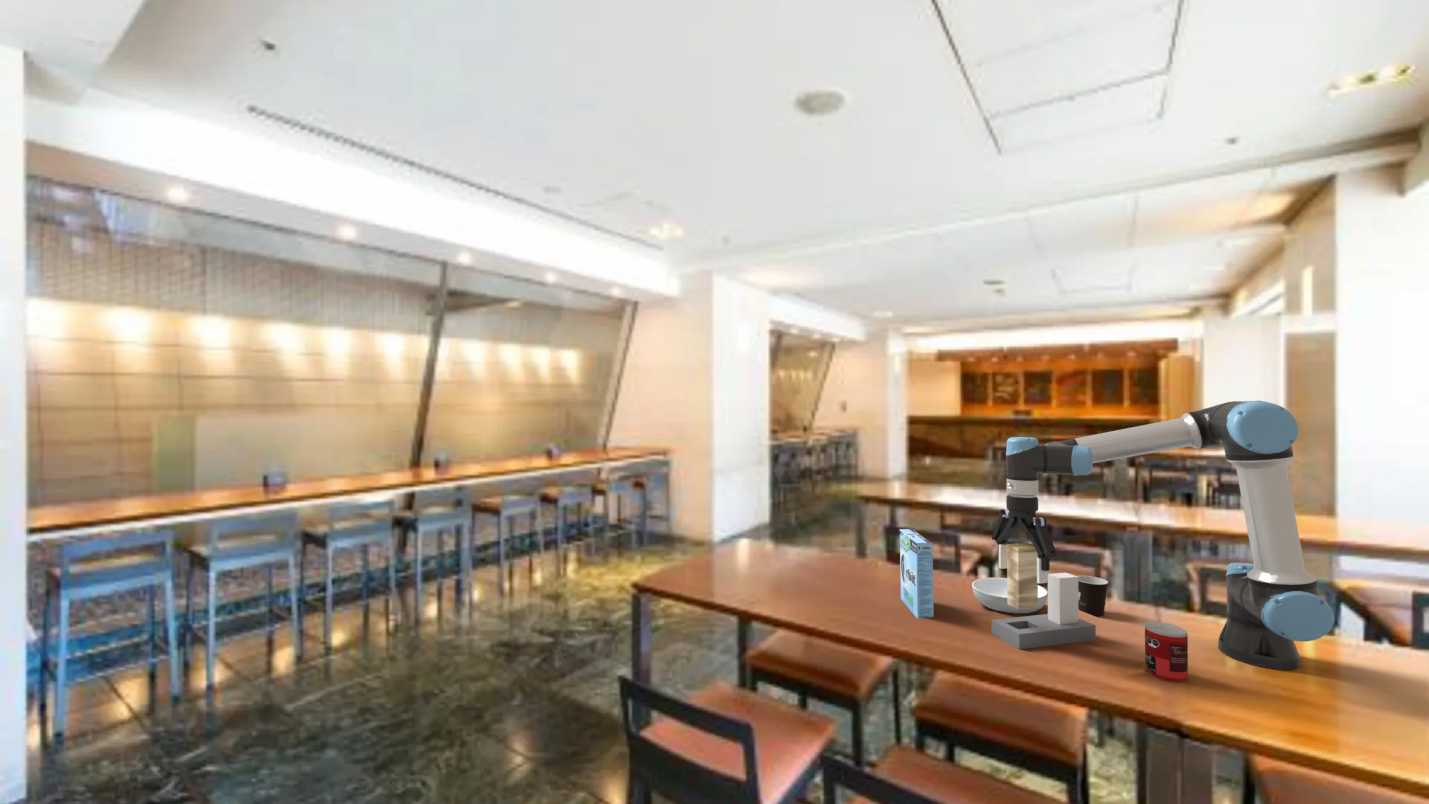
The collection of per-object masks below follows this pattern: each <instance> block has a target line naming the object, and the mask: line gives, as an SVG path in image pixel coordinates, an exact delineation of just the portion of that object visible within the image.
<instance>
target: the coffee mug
mask: <svg viewBox="0 0 1429 804" xmlns="http://www.w3.org/2000/svg"><path fill="white" fill-rule="evenodd" d="M1076 576H1077V577H1078V611H1081V612H1083V613H1085V614H1088V615H1090V616H1092V617H1096V618H1097V617H1098V618H1100V617H1104V615H1105V609H1106V601H1107V594H1108V587H1109V581H1108V580H1106V579H1105V578H1101V577H1097V576H1089V575H1076Z"/></svg>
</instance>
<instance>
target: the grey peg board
mask: <svg viewBox="0 0 1429 804" xmlns="http://www.w3.org/2000/svg"><path fill="white" fill-rule="evenodd" d="M1096 629H1097V626H1096V624H1094V623H1091V622H1088V621H1087V620H1084V619H1082V618H1079V617H1078V623H1071V624H1062V625H1059V624H1057V623H1055V622H1053V621H1051V620H1048V613H1046V614H1036V615H1027V616H1026V615H1025V616H1018V617H1017V616H1015V617H1007V618H997V619H991V635H992V636H993V637H994V636H995V637H996V638H998V639H1000V640H1001V641H1003V642H1005V643H1007V644H1008V645H1011V646H1012V647H1015V648H1016V649H1018V650H1024V649H1026V650H1027V649H1031V648H1032V649H1033V648H1041V647H1048V646H1049V647H1050V646H1058V645H1063V644H1064V645H1065V644H1072V643H1073V644H1074V643H1081V642H1082V643H1083V642H1088V641H1090V642H1091V641H1096V639H1097V638H1096V637H1097V636H1096V633H1097V630H1096Z"/></svg>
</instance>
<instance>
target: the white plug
mask: <svg viewBox="0 0 1429 804" xmlns="http://www.w3.org/2000/svg"><path fill="white" fill-rule="evenodd" d="M1077 576H1078V575H1074V574H1072V573H1068V572H1057V573H1048V583H1047V592H1048V595H1047V614H1048V620H1051V621H1053V622H1055V623H1057V624H1059V625H1062V624H1071V623H1078V618H1079V608H1078V577H1077Z"/></svg>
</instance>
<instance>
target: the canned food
mask: <svg viewBox="0 0 1429 804" xmlns="http://www.w3.org/2000/svg"><path fill="white" fill-rule="evenodd" d="M1188 636H1189V635H1188V631H1187V630H1186V629H1185V628H1182V627H1180V626H1178V625H1174V624H1171V623H1168V622H1167V623H1165V622H1159V621H1150V622H1146V623H1145V625H1144V665H1145V666H1144V667H1145V670H1146V672H1147V673H1149V675H1151V676H1152V677H1155V678H1158V679H1160V680H1164V681H1169V682H1174V683H1175V682H1176V683H1180V682H1181V683H1182V682H1185V681H1187V679H1188V677H1189V674H1188V673H1189V669H1188V668H1189V663H1188V660H1189V653H1188V651H1189V649H1188V648H1189V647H1188V645H1189V637H1188Z"/></svg>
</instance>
